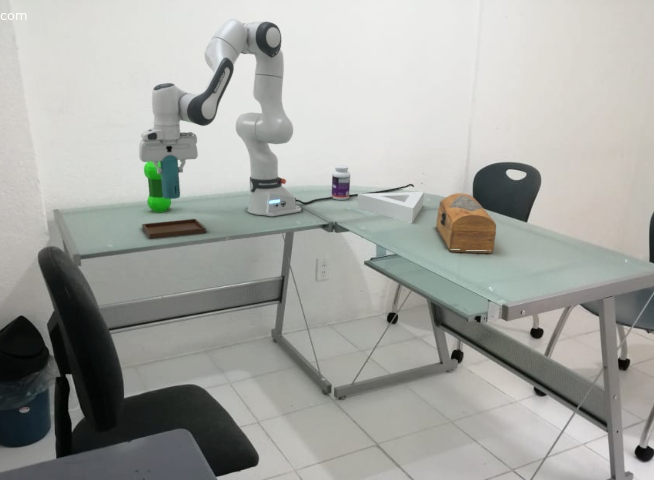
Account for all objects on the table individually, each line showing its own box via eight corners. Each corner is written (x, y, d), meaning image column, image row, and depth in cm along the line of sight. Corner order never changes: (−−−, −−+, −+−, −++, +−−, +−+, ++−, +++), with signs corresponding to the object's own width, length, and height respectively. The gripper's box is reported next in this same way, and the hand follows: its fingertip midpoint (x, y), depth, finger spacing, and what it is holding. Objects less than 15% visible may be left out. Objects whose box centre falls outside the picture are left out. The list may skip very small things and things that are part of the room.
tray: (195, 223, 233) (195, 218, 232) (205, 232, 222) (205, 228, 221) (142, 228, 225) (142, 223, 224) (149, 238, 214) (149, 234, 213)
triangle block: (357, 208, 259) (357, 193, 256) (396, 199, 275) (397, 185, 272) (411, 223, 238) (413, 208, 236) (450, 213, 254) (452, 198, 252)
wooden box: (433, 227, 234) (437, 192, 228) (476, 229, 233) (481, 193, 227) (444, 252, 206) (449, 213, 201) (493, 254, 206) (499, 214, 200)
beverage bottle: (176, 203, 215) (173, 146, 207) (159, 202, 216) (155, 145, 208) (183, 199, 221) (180, 143, 213) (166, 198, 222) (163, 142, 214)
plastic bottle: (162, 205, 255) (157, 145, 245) (177, 210, 249) (173, 149, 239) (142, 210, 248) (136, 148, 238) (157, 215, 242) (152, 152, 232)
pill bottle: (330, 196, 277) (331, 164, 271) (347, 196, 277) (348, 164, 272) (332, 200, 269) (334, 168, 264) (350, 200, 270) (352, 168, 264)
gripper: (194, 130, 216) (196, 169, 221) (136, 133, 208) (139, 173, 213) (198, 133, 211) (200, 172, 216) (139, 135, 203) (143, 176, 208)
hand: (170, 172), depth 215 cm, fingers closed on beverage bottle, 6 cm apart
